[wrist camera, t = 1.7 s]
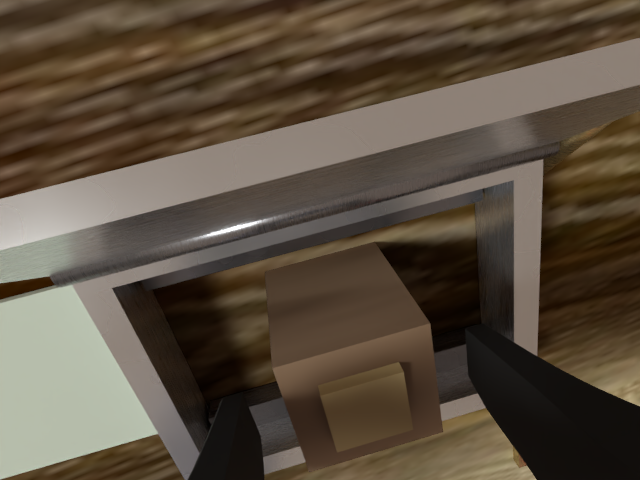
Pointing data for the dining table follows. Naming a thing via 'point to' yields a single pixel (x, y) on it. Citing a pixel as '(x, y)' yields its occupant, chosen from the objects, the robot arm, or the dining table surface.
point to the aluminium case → (266, 401)
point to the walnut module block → (351, 356)
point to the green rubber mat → (59, 384)
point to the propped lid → (315, 168)
